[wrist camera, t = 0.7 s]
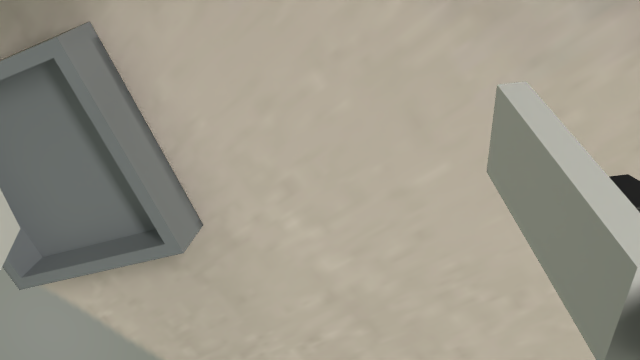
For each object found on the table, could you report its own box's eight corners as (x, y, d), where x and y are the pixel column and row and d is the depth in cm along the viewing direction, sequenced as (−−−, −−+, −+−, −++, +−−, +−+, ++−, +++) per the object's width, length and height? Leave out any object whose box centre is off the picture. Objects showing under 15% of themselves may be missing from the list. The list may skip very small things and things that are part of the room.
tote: (-75, 92, 43) (-115, 111, 40) (89, 21, 37) (56, 36, 34) (46, 262, 49) (19, 289, 46) (203, 225, 43) (183, 253, 40)
